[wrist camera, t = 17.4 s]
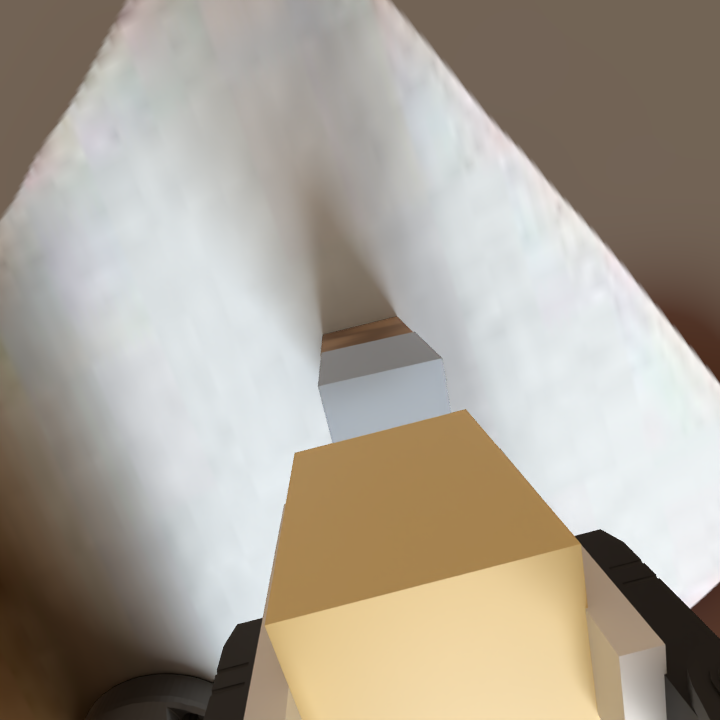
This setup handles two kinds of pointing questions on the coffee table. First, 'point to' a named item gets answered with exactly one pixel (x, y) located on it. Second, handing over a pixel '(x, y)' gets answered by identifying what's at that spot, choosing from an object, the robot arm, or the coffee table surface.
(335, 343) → the walnut brick
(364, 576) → the yellow cube
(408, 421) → the gray brick
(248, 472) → the coffee table surface
